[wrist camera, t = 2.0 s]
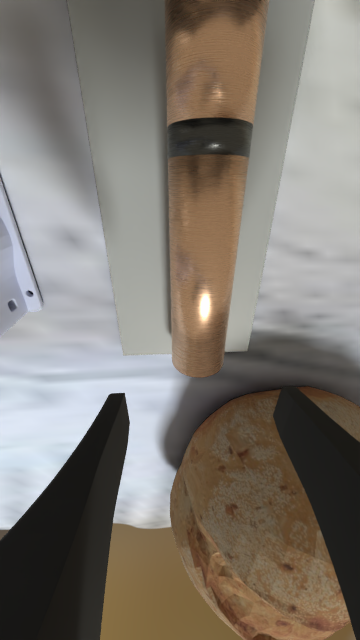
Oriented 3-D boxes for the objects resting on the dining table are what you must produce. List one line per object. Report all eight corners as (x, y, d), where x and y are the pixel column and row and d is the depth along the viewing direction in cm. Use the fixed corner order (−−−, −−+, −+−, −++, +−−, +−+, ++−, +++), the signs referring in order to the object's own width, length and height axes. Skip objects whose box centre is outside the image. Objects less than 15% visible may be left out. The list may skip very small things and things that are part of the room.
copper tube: (207, 339, 20) (233, 368, 17) (164, 350, 19) (184, 384, 16) (230, 36, 11) (296, -23, 8) (151, 15, 10) (192, -68, 7)
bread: (278, 502, 39) (335, 662, 26) (145, 487, 33) (132, 677, 20) (403, 401, 27) (628, 605, 14) (225, 351, 21) (319, 607, 8)
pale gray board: (245, 347, 21) (247, 351, 20) (124, 351, 20) (123, 355, 20) (402, -508, 6) (423, -570, 6) (-19, -573, 6) (-37, -650, 5)
